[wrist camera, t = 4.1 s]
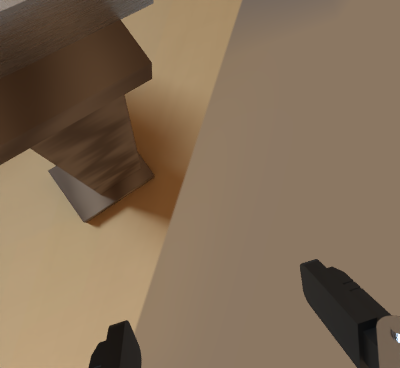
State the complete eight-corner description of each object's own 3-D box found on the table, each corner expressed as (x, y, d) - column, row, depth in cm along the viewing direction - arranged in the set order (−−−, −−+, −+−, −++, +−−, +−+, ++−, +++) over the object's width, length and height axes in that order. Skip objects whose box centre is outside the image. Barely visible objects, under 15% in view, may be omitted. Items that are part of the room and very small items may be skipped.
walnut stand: (86, 222, 40) (-98, 199, 11) (51, 173, 41) (-213, 24, 11) (154, 177, 43) (151, 62, 14) (121, 131, 43) (51, -76, 14)
